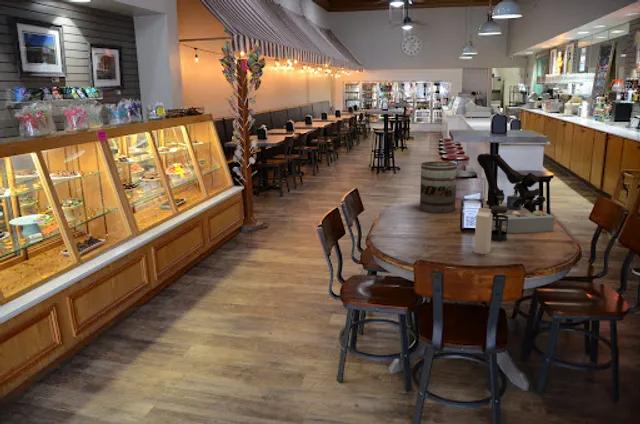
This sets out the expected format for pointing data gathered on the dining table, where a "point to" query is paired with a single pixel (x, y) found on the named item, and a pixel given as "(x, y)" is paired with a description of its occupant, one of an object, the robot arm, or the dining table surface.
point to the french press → (499, 222)
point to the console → (528, 223)
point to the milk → (483, 231)
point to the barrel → (438, 187)
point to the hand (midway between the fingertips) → (535, 214)
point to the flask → (510, 202)
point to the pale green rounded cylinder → (536, 213)
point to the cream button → (516, 213)
